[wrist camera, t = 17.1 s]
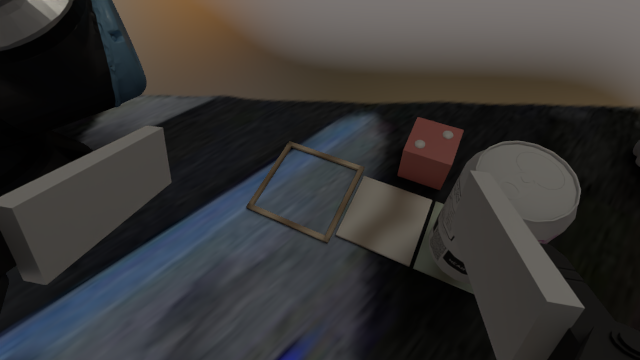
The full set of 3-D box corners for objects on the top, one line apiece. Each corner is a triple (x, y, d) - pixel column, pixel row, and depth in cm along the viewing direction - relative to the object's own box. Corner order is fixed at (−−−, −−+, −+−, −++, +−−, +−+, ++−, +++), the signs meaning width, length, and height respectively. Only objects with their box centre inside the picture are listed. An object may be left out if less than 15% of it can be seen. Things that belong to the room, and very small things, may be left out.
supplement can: (465, 204, 39) (521, 119, 26) (520, 260, 35) (617, 192, 22) (412, 237, 37) (444, 165, 25) (463, 301, 33) (533, 253, 20)
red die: (397, 175, 42) (403, 149, 37) (410, 144, 45) (418, 115, 40) (439, 190, 41) (452, 164, 36) (451, 156, 43) (464, 128, 38)
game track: (247, 208, 41) (246, 206, 41) (289, 143, 47) (289, 141, 46) (495, 316, 33) (497, 316, 32) (514, 221, 38) (516, 219, 37)
